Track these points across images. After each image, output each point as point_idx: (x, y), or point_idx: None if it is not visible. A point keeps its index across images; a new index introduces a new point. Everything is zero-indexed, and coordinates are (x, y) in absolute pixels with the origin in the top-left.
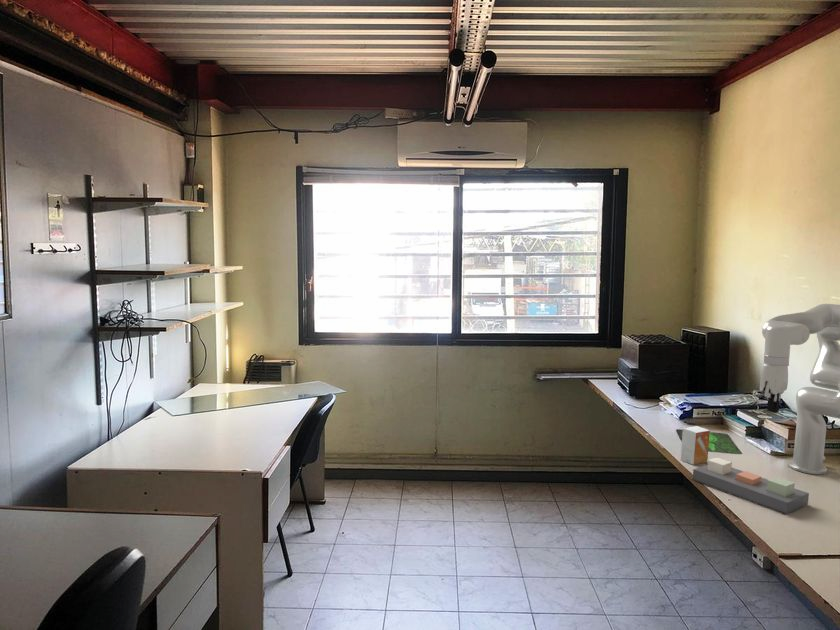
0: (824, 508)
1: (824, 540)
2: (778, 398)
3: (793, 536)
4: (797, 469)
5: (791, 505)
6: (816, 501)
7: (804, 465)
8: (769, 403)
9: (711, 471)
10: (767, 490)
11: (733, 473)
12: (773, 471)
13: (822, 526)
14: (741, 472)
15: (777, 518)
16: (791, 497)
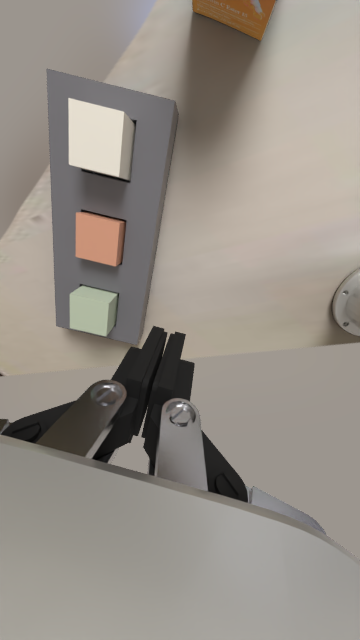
0: None
1: (33, 366)
2: (149, 467)
3: (5, 337)
4: (341, 287)
5: None
6: None
7: (352, 303)
8: (115, 376)
9: None
10: (81, 286)
11: (120, 190)
12: (300, 243)
13: (75, 359)
14: (101, 218)
15: (41, 308)
16: None
